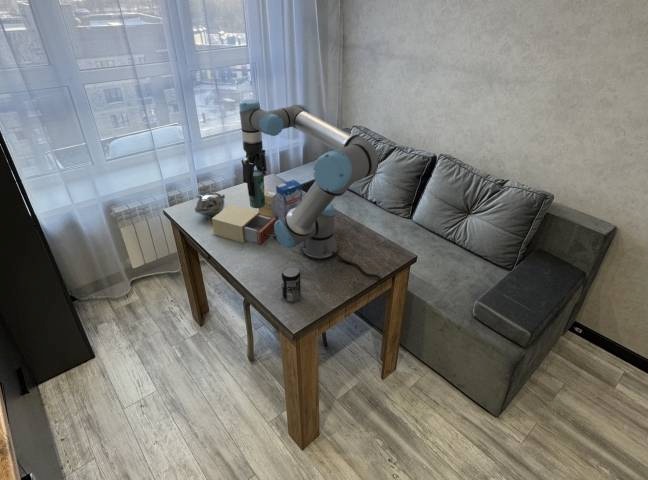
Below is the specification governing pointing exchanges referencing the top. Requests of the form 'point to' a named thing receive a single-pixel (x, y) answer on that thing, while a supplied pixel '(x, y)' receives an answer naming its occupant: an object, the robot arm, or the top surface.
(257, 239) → the drawer
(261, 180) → the can
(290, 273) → the beverage can
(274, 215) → the supplement box
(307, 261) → the top surface
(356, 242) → the top surface
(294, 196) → the milk carton
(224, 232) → the beige cardboard box
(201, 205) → the piggy bank
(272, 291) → the top surface
